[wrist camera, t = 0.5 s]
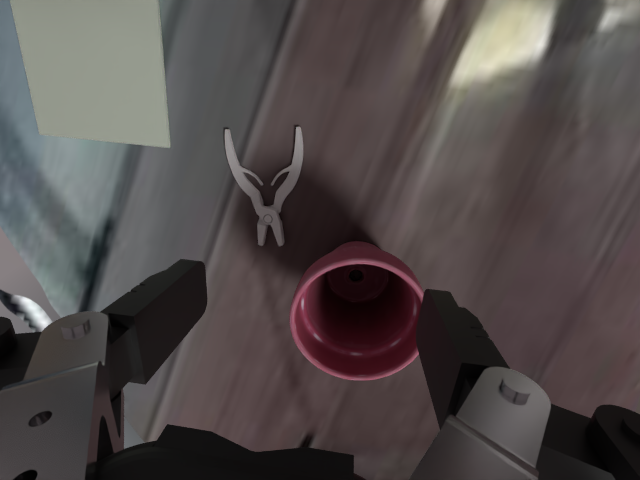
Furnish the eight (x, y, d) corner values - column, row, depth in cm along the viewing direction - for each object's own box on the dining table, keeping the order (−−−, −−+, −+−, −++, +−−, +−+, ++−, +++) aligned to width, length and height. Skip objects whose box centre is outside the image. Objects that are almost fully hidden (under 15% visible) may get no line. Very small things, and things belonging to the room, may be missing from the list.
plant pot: (336, 202, 39) (328, 233, 27) (430, 252, 40) (463, 303, 28) (290, 287, 44) (266, 345, 32) (375, 329, 45) (382, 402, 33)
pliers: (300, 126, 35) (306, 246, 40) (302, 126, 37) (308, 242, 42) (219, 129, 36) (235, 245, 41) (225, 129, 38) (239, 241, 43)
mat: (6, -34, 34) (2, -35, 34) (156, -25, 33) (154, -27, 32) (42, 134, 40) (39, 134, 40) (170, 147, 39) (168, 147, 39)
